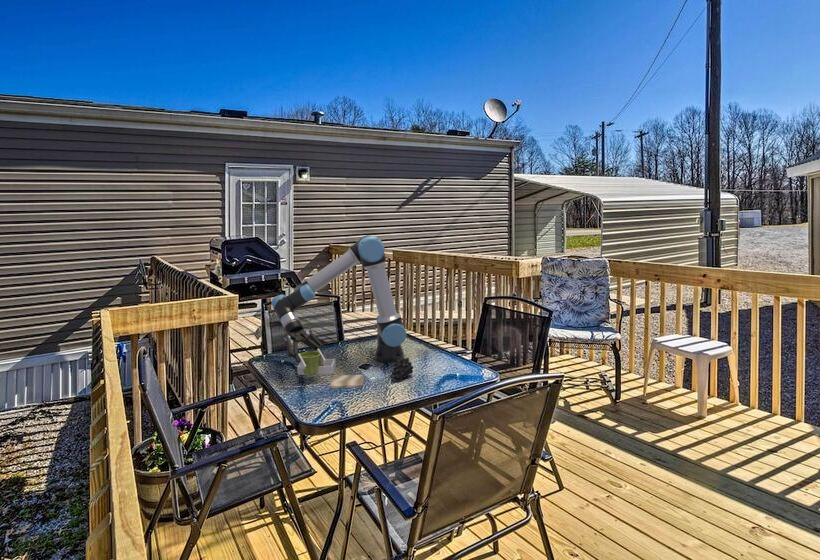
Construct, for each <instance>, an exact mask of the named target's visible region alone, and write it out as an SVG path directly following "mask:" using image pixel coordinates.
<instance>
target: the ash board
mask: <svg viewBox="0 0 820 560" xmlns="http://www.w3.org/2000/svg"><path fill="white" fill-rule="evenodd" d="M365 377H366V376H365V374H346V375H340V374H339V375H333V377H332V380H331V382H330V385H329V389H350V388H364V387H363V386H364V382H365Z"/></svg>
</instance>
